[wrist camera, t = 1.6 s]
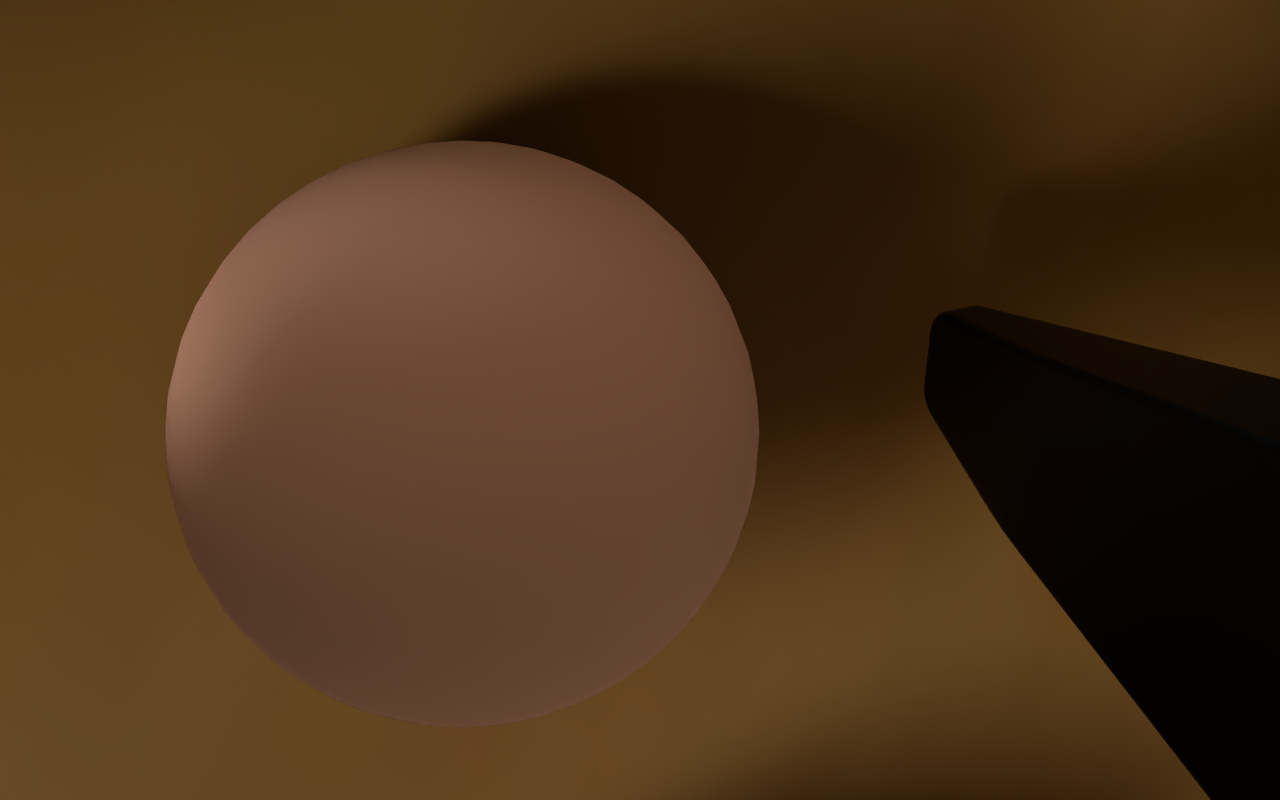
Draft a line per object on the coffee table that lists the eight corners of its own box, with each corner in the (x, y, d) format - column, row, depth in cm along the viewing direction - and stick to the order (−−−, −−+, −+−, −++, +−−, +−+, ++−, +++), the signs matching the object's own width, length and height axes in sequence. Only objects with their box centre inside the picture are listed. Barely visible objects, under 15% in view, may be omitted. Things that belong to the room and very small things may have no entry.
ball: (660, 450, 13) (846, 755, 9) (247, 544, 12) (255, 941, 8) (641, 41, 11) (891, 224, 7) (109, 112, 10) (21, 386, 6)
